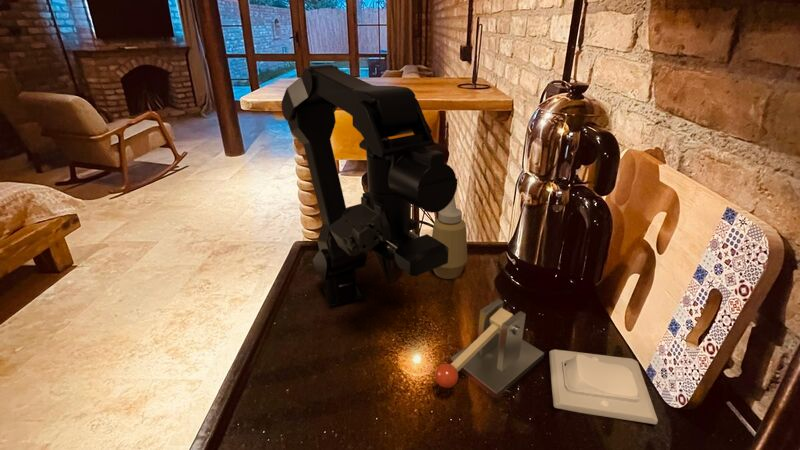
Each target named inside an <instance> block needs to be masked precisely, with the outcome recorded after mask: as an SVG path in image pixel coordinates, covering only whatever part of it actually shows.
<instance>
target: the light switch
mask: <svg viewBox="0 0 800 450" xmlns="http://www.w3.org/2000/svg"><path fill="white" fill-rule="evenodd" d="M548 358H549V369H550V371H549V372H550V380H551V381H550V382H551V394H552V404H553V407H554V408H555V409H560V410H565V411H569V412H575V413H580V414H585V415H593V416H600V417H605V418H606V417H607V418H610V419H611V418H612V419H618V420H625V421H631V422H638V423H643V424H644V423H645V424H650V425H658V422H659V419H658V417H657V414H656V411H655V408H654V405H653V401H652V399H651V396H650V394H649V390H648V387H647V385H646V382H645V378H644V376H643V373H642V369H641V367H640V365H639V362H638V361H637V360H636V359H634V358H630V357H621V356H612V355H605V354H597V353H587V352H578V351H571V350H563V349H552V350H550V351H549V352H548Z"/></svg>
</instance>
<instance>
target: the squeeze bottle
mask: <svg viewBox="0 0 800 450" xmlns="http://www.w3.org/2000/svg"><path fill="white" fill-rule="evenodd" d="M437 215H438V218H437V219H435V220H434V221H433V227H432V232H431V237H433V238H435V239H436V240H438V241H440V242H441V243H443V244H444V245H446V246H447V247H448V248H449V250H448V263H447V264H444V265H442V266H440V267H437V268H435V269H432V271H433V273H434V274H435V275H436V276H437V278H441V279H446V280H453V279H456V278H458V277H460V276H461V275H462V273H463V271H464V269H465V267H466V265H467V262H468V243H467V223H466V222H465V220H464V219H463V218H462V216H463V212H462V210H461V209H460V208H458V207H457V203H456V198H455V196H454V197H453V199H452V201H451V202H450V203H449V205H448V206H447V207H445V208H444V209H443V210H441V211H439V212H438V214H437Z"/></svg>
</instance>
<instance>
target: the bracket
mask: <svg viewBox="0 0 800 450" xmlns="http://www.w3.org/2000/svg"><path fill="white" fill-rule="evenodd" d="M504 303H505V301H504V300H502V299H500V298H497V299H496V300H494V301H492V302H491V303H490V304H488V305H486V306H485V307H483V308H481V309H480V310H479V318H478V329H477V338H478V337H479V336H480V335H481V334H482V333H483V332H485V331H486V330H487V329H488V328H489V327H490V318H491V317H492V316H493V315H494V314H495V313H496V312H497V311H498V310H499V309H500V308H503V309H504ZM526 316H527V314H526V313H525V312H523V311H521V310H520V311H517V313H515V314H513V316H512V317H511V318H510V319H508V320H507V321H505V322H504V323H502V328H501V335H500V334H498V333H497V334H496V335H495V336H494V337H493V338H492V339H491V340H490V341H489V342H488V343H487V344H486V345H485V346H484V347H483V348H482V349H481V350H479V351H478V352H477V353H476V354H475V355H474V356H473V357H472V358H471V359H470V360H469V361H468V362H467V363H466V364H465V365H464V366H463V367H462V368H461V369H460V370H459V371H458V372H460V373H462V374H463V375H465V376H466V377H467V378H468V379H469V380H471V381H472V382H473V383H475V384H476V385H477V386H479V387H480V388H481V389H483V390H484V392H486V393H487V394H489V395H490V396H491V397H493V398H494V399H495V400H496V399H498V398H499V397H500V396H501V395H503V394H504V393H505V392H506V391H507V390H508V389H510V388H511V387H512V386H513V385H514V384H515V383H516V382H517V381H519V380H520V379H521V378H522V377H524V376H525V375H526V374H527V373H528V372H530V371H531V369H533V368H534V367H535V366H537V365H538V363H540V362H541V361H542V360H544V356H545V352H544V351H542V350H540V349H539V348H537V347H535V346H534V345H532V344H531V343H529V342H527V341H526V340H524V339H523V336H524V329H525V323H526ZM472 343H473V342H471V343H470V344H468V345H466V346H465V347H464V348H462V349H461V350H459V351H458V352H456V353H455V354H454V355H453V356H450V358H449V364H451V363H452V362H453V361H454V360H455V359H457V358H458V357H459V356H460V355H461V354H462V353H463V352H464V351H465V350H466V349H467V348H468V347H469V346H470V345H471V344H472Z"/></svg>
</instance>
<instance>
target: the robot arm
mask: <svg viewBox="0 0 800 450" xmlns="http://www.w3.org/2000/svg"><path fill="white" fill-rule="evenodd" d="M337 109H340V110H342V111H344V112H345V113H347V114H349V115H350V116H351V118H352V127H353V128H354V129H356V131H357V132H358V133H359V134H360V135H361V136H362V138H363V139H362V140H361V141H360V142H359V144H358V146H359V148H360V149H362V150H364V151H365V153H366V170H367V171H366V172H367V173H366V174H367V186H368V187H367V189H368V190H367V191H366V192H362V194H361V195H362V196H361V197H360V203H358V204H355V205H354V204H353V205H351V206H346V205H347V204H346V201H345V197H344V192H343V189H342V184H341V179H340V174H339V170H338V167H337V162H336V158H335V152H334V149H333V145H332V139H331V138H332V135H333V132H334V129H335V126H336V123H337V121H336V111H337ZM281 111H282V115H283V118H284V120H285V121H287V124H288V128H289V131H290V133H291V134H292V135H293V136H294V137H295V138H296V139H297V140H298V141H299V142H300V143H301V144H302V146H303V148H304V149H303V150H304V153H305V157H306V162H307V165H308V169H309V173H310V178H311V181H312V186H313V190H314V194H315V198H316V202H317V206H318V207H317V208H318V211H319V214H320V219H321V223H322V225H321V228H320V230H319V234H318V237H317V246H318V251H317V253H316V254H315V256H314V257H313V258H312V263H313V267H314V271H315V272H316V273H317V274H318V275H319V276H320V277H321V278H322V279H323V280H324V281H325V282H326V286H323V287H322V290H323V294H324V296H325V299H326V301H327V304H328V306H329V307H330V308H334V307H339V306H342V305H345V304H350V303H354V302H358V301H361V300H363V295H362V293H361V291H360V290H359V287H358V286H357V280H356V279H357V278H356V277H357V276H356V270H357V269H360V268H364V267H365V266H366V261H367V256H368V253H369V251H371V250H372V251H373V252H375V254H376V257H377V258H378V261H379V263H380V266H381V269H382V272H383V274H384V277H385V279H386V282H387V284H388V285H390V286H392V287H393V286H395V285H397V284H398V282H399V280H400V279H401V277H402V275H403V273H406V274H407V275H409V276H412V277H418V276H420V275H423V274H425V273H429V271H431V270H432V271H433V269H435V268H437V267H440V266H442V265H444V264H447V263H448V250H449V248H448V247H447V246H446V245H444V244H443V243H441V242H440V241H438V240H436V239H435V238H433V237H432V235H430V234H428V233H426V234H423V235H418V234H416V233H415V232H413V230H416V229H418V221H417V220H415V219H413V218H412V205H414V206H416V207H418V208H420V209H421V210H423V211H425V212H427V213H430V214H431V213H439V211H441V210H443V209H444V208H445V207H447V206H448V205H449V203H450V202H451V201H452V199H453V197H455V195H456V192H457V189H458V178H457V176H456V173H455V171H454V168H452V166H450V165H449V164H447V163H445V156H446V155H445V153H444V152H442V151H439V150H432V149H429V148H430V147H434V146H435V141H434V138H433V135H432V132H433V131H432V128H431V127H430V126H429V124H428V122H427V120H426V117H425V115H424V111H423V110H422V108H421V105H420V103H419V101H418V98H416V94H415V92H414V91H413V90H412V89H411V88H409V87H407V86H399V85H376V84H371V83H368V82H366V81H364V80H362V79H360V78H358V77H356V76H353V75H351V74H350V73H347V72H345V71H343V70H341V69H339V67H337V66H335V65H333V64H323V65H309V66H308V67H305V68H304V69H303V71H302V73H301V76H300V77H299V78H297V80H295V81H294V82H293V83H291V84H290V85H288V86H287V87H286V88H285V91H284V94H283V97H282V99H281ZM406 134H407V135H406ZM408 134H410V135H408ZM402 135H405V136H402ZM399 136H400V137H399ZM392 137H394V138H392Z"/></svg>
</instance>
